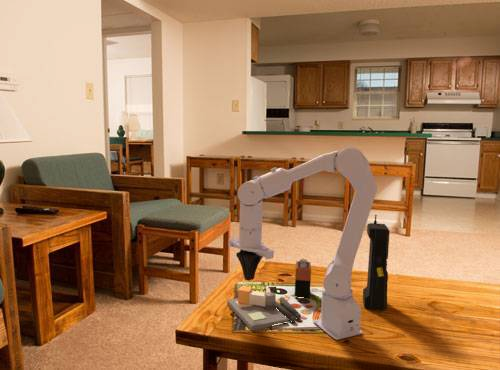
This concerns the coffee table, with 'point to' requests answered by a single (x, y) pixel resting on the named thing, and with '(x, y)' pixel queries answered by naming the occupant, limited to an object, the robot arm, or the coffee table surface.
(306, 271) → the battery
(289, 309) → the dark grey rounded rod
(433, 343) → the coffee table surface
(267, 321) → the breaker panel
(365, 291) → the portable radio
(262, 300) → the lever
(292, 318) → the dark grey rod
